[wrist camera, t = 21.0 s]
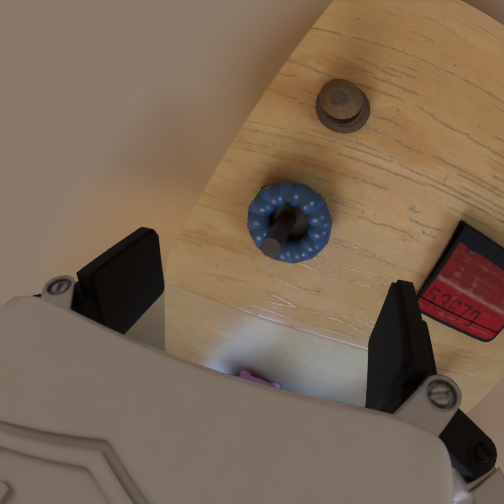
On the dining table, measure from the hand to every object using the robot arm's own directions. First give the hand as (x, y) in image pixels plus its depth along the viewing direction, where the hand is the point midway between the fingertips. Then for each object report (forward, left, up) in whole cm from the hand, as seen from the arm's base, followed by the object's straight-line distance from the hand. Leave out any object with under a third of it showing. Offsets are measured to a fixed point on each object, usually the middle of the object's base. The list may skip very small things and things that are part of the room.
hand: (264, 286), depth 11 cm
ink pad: (+13, +29, -29) cm, 43 cm away
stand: (+8, -4, -29) cm, 30 cm away
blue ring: (+8, -3, -26) cm, 28 cm away
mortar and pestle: (-8, +2, -29) cm, 30 cm away
